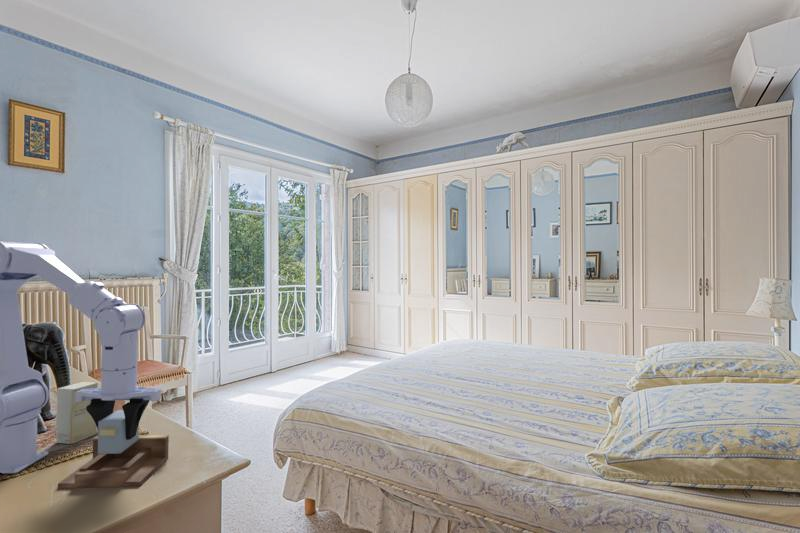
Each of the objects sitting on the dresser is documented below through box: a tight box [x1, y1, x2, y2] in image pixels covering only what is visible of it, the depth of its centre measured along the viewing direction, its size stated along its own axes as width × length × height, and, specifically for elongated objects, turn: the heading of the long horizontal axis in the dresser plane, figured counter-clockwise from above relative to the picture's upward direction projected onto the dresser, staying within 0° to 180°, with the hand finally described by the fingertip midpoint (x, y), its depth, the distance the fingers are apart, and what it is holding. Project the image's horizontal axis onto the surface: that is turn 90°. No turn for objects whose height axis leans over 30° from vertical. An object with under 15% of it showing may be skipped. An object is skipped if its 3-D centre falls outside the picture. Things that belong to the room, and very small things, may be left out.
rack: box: [57, 434, 170, 489], centre depth 78 cm, size 14×10×5 cm
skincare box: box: [55, 381, 98, 445], centre depth 92 cm, size 6×4×12 cm
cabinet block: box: [97, 410, 140, 454], centre depth 78 cm, size 4×7×6 cm, turn 5°
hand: (118, 437), depth 78 cm, fingers closed on cabinet block, 4 cm apart
